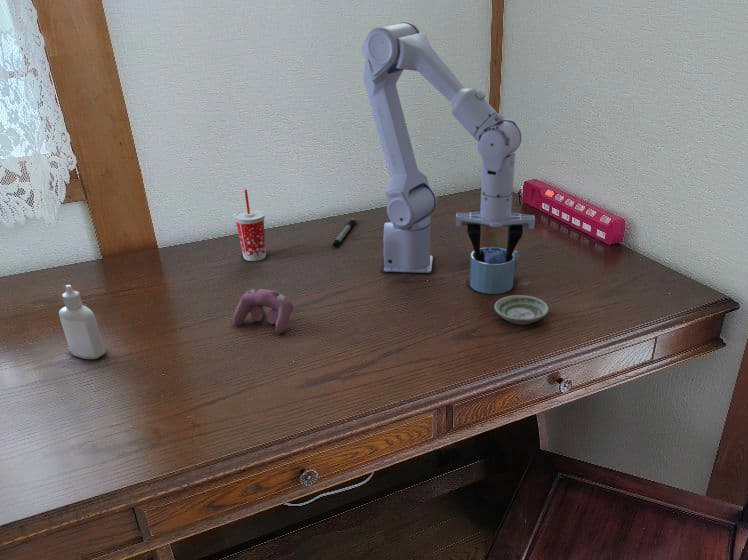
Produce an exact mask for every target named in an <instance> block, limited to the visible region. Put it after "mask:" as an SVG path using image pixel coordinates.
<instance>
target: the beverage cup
mask: <svg viewBox="0 0 748 560" xmlns="http://www.w3.org/2000/svg"><path fill="white" fill-rule="evenodd" d="M243 192H244V198H245V204H246V209H243V210H239V211H236V212H235V213H234V214H233V220H234V222H235V225H236V229H237V230H236V231H237V234H238V239H239V243H240V244H239V245H240V248H241V252H242V257H243V260H245V261H249V262H257V261H262V260H264V259H266V258H267V248H266V232H265V219H266V217H265V215H266V214H265V212H264V211H262V210H260V209H250V202H249V196H248V189H244V191H243Z"/></svg>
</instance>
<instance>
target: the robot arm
mask: <svg viewBox="0 0 748 560" xmlns="http://www.w3.org/2000/svg"><path fill="white" fill-rule="evenodd" d="M361 49H362V53H363V55H364V69H363V82H364V83H363V84H364V87H365V91H366V94H367V98H368V102H369V105H370V109H371V112H372V115H373V120H374V123H375V127H376V130H377V134H378V137H379V141H380V145H381V148H382V153H383V155H384V160H385V163H386V166H387V170H388V174H389V178H390V179H389V182H388V184H387V187H386V190H385V196H386V201H387V202H386V203H387V204H386V214H387V217H388V219H389V222H388V221H386V222H384V225H383V236H382V237H383V239H382V240H383V253H382V257H383V272H385V273H412V274H413V273H414V274H418V273H419V274H431V273H432V269H433V260H434V259H433V258H434V256H433V255H431V220H432V214H433V213H434V212H435V210H436V209H437V205H438V198H437V194H436V193H435V191H434V189H433V188H432V187H431V185H430V183H429V180H428V176H427V175H425V174H424V173H423V172H421V171H420V170H419V169H418V165H417V160H416V157H415V153H414V149H413V146H412V141H411V138H410V134H409V129H408V125H407V122H406V119H405V114H404V111H403V107H402V103H401V100H400V99H401V98H400V95H399V92H398V88H397V83H398V81H399V79H400V78H401V75H402V74H403V72H404V70H406V71H412V72H413V71H414V72H418V73H419V74H420V75H421V76H422V77H423V78H424V79H425V80H426V81H427V82H429V83H430V84H431V85H432V86H433V87H434V88H435V89H436V90H437V91H438V92H439V93H440V94H441V95H442V96H443V97H444V98H445V99H446V100H447V101H448V102H449V103H450V109H451V110H450V112H451V115H452V116H453V117H454V118H455V119H456V120H457V121H458V123H459V124H460V125H461V126H462V127H463V128H464V129H465V130H466V131H467V132H468V134H470V135H471V136H472V138H473V139H474V140H475V141H477V142H476V147H477V150H478V153H479V154H480V156H481V158H482V166H481V168H482V169H481V186H480V204H479V205H480V206H479V207H480V208H479V211H471V212H470V211H469V212H456V213H455V214H456V215H455V227H457V228H461V227H462V226H465V227H467V228H466V229H467V230H466V231H467V235H468V238H469V240H470V242H471V245H472V247H473V251H475V255H476V260H478V261H480V248H481V233H482V231H481V230H482V229H481V227H490V228H501V227H502V228H503V227H505V228H506V227H507V244H506V262H509V261H510V260H511V256H512V254H513V251H515V250H516V246H517V244H518V243H519V242H520V240H521V238H522V237H523V233H524V230H523V229H524V228H528V229H529V230H530V229H531V230H534V229H535V223H536V218H535V215H534V214H525V213H524V214H523V213H518V212H512V205H513V194H514V193H513V192H514V179H515V163H516V162H515V161H516V153H515V152H516V151H517V150H518V149H519V147H520V146H521V143H522V132H521V129H520V128H519V126H518V125H517V123H516V121H514V120H512V119H509V118H505V116H504V115H503V114H502V113H500V112H499V113H498V112H497V111H496V109H495V108H494V107H493V106H492V105H491V104H490V103H489V102H488V101H487V100H486V99H485V98H486V94H485V93H484V92H483V91H482V90H479V91H478V90H477V89H476V88H473V87H472V88H471V87H470V88H466V87H465V86H464V85H463V83H462V82H461V81H460V80H459V79H458V78H457V76H456V75H455V74H454V72H453V71H452V70H451V69H450V68H449V67H448V65H447V64H446V63H445V62H444V61H443V60H442V58H441V57H440V55H438V53H437V52H436V51H435V50H434V48H433V47H432V45H431V43H430V41H429V38H428V37H427V36H426V35H425V34H424V33H423V32H421V31H420V29H419V28H418V26H417V25H416V24H414V23H412V22H410V21H401V22H399V23H396V24H391V25H387V26H386V25H385V26H377V27H374V28H373V29H371V30H370V31H369V33H368V34H367V37H366V38H365V40H364V42H363V44H362V46H361Z"/></svg>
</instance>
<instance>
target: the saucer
mask: <svg viewBox="0 0 748 560" xmlns="http://www.w3.org/2000/svg"><path fill="white" fill-rule="evenodd" d="M493 307H494V310H495V312H496V313H497V315H498V316H500V317H501V318H502V319H503V320H505V321H508V322H509V323H512V324H514V325H520V326H522V325H523V326H524V325H530V324H532V323H535V322H538V321H539V320H541V319H543V318H545V317H546V316H547V314H548V313H549V309H550V308H549V306H548V304H547V302H545V301H544V300H542V299H540V298H538V297H535V296H531V295H526V294H525V295H523V294H514V295H508V296H504V297H502V298H499V299H498V300H497V301H496V302H495V303H494V305H493Z"/></svg>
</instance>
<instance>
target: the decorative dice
mask: <svg viewBox="0 0 748 560" xmlns="http://www.w3.org/2000/svg"><path fill="white" fill-rule="evenodd" d="M486 247H487V248H485V247H484V248H485V249H484V250H483V251H482V252H481V254H480V262H483V263H488V264H501V263H506V255H505V252H504V251H503V249H504V248H503V249H501V248H502V247H498V246H486Z"/></svg>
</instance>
